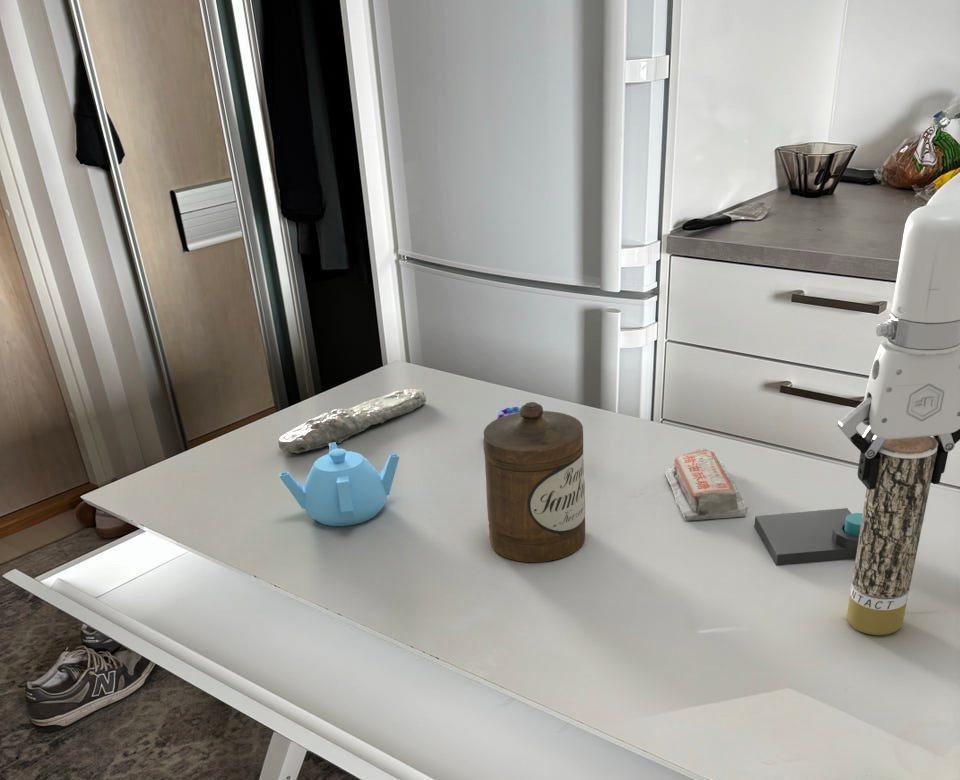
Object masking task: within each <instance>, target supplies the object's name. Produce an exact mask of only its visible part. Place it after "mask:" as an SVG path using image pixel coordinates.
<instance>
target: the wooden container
mask: <svg viewBox="0 0 960 780" xmlns="http://www.w3.org/2000/svg"><path fill="white" fill-rule="evenodd" d="M519 408H520V412H519V413H514V414H510V415H507V416H503V417H501V418H498V419H497V418H496V419H494V420H492V421H491V422H489V424H487V425H486V426H485V428H484V429H483V432H482V433H483V435H482V445H483V453H484V467H485V468H484V471H485V490H486V493H485V494H486V509H487V510H486V511H487V521H488V534H489V543H490V547H491V548H492V550H493V551H494V552H495V553H497V554H498V555H499V556H501V557H504V558H506V559H509V560H512V561H518V562H523V563H524V562H525V563H543V562H551V561H556V560H559V559H562V558H565V557H567V556H571V554H574V553H575V552H577V551H578V550H579V549H580V548H581V547H582V546H583V545H584V543H585V540H586V481H585V460H584V459H585V458H584V427H583V424H582V422H581V421H580V420H579V419H577V418H576V417H575V416H572V415H569V414H567V413H563V412H557V411H551V410H544V408H543V406H542V405H541V404H540V403H538V402H535V401H529V402H526V403H524V404H523V405H522V406H521V407H519Z"/></svg>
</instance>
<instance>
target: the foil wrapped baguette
mask: <svg viewBox="0 0 960 780" xmlns="http://www.w3.org/2000/svg"><path fill="white" fill-rule="evenodd" d="M426 402H427V395H425V393H424V391H423V388H410V389H403V390H402V389H401V390H395V391H393V392H389V393H387V394H385V395H383V396H379V397H376V398H373V399H370V400H367V401H364V402H362V403H360V404H357V405H355V406H353V407H349V408H348V407H347V408H334V409H332V410H331V411H326V412H324V413H322V414H320V415H318V416H316V417H314V418H312V419H308V420H306V421H305V423H303V424H300V425H298V426H297V427H295V428H292V429H291V430H289V431H287V432H286V433H284V434H283V435H281V436H280V437H279V439H278V448H279V449H280V450H281V451H282V452H287V453H294V454H300V453H303V452H307V451H312V450H317V449H323V448H324V447H329V443H334V442H336V443H337V444H342V442H343V441H345V440H348V439H349V438H350V437H352V436H354V435H358V434H359V433H361V432H364V431H365V430H367V429H368V428H370V427H371V426H372V425H378V424H383V423H385V422H386V421H387V420H390V419H393V418H395V417H400V416H403V415H406V414H409V413H411V412H413V411H414V410H415V409H417V408H421V406H422V405H424V404H425V403H426Z"/></svg>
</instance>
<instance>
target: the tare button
mask: <svg viewBox="0 0 960 780" xmlns="http://www.w3.org/2000/svg"><path fill="white" fill-rule="evenodd" d="M862 515H863V512H851V514H849V515H848V516H847V517H846V521H845V528H844V531H845V533H847V534H849V535H853V536H859V534H860V528H861V522H862Z"/></svg>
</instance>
